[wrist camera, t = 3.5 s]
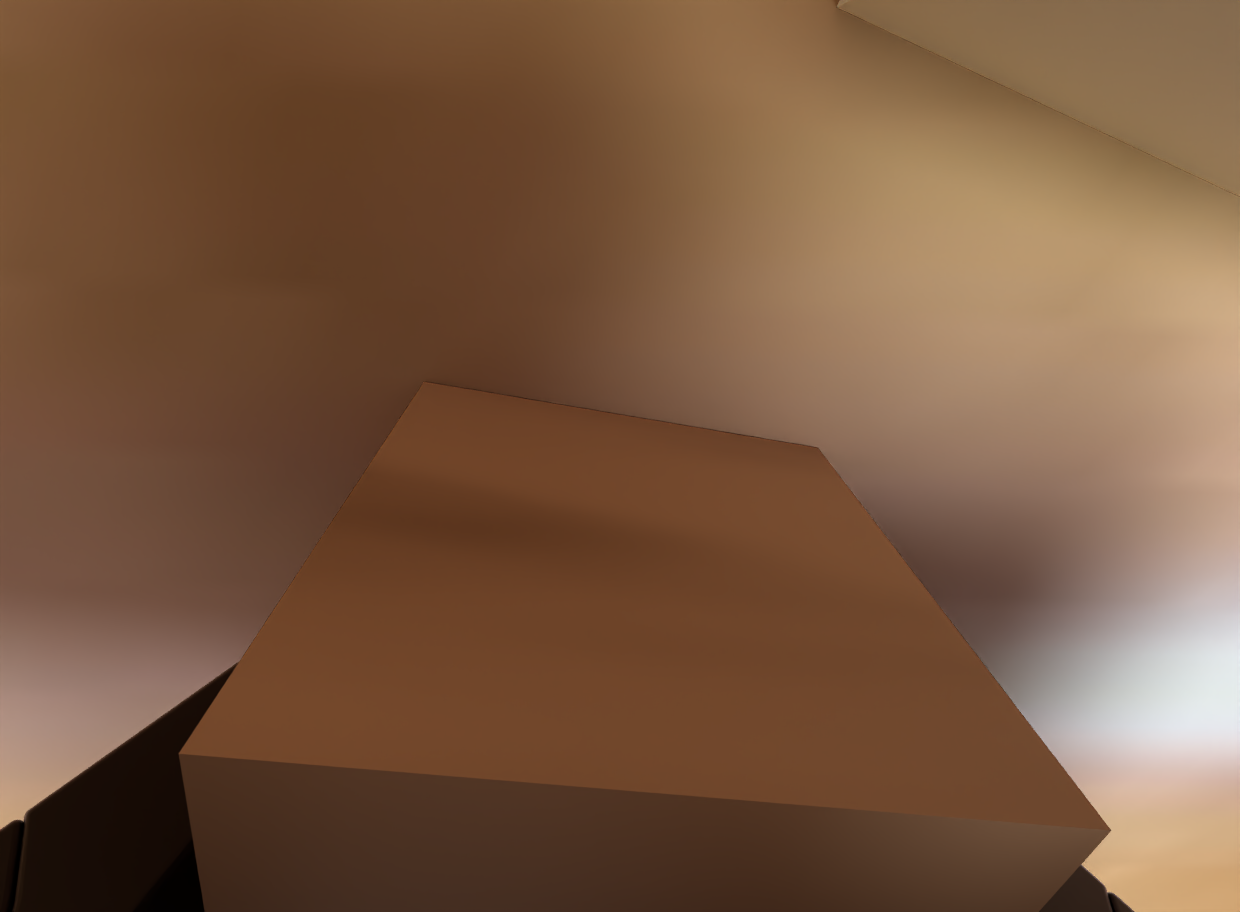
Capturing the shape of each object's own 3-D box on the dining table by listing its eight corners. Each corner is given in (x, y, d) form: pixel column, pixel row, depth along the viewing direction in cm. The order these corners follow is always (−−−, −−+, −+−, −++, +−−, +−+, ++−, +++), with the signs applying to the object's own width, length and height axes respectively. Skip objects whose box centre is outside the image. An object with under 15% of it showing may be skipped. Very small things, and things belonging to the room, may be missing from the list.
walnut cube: (714, 715, 10) (816, 1161, 6) (404, 684, 10) (245, 1161, 5) (817, 448, 8) (1109, 829, 4) (424, 381, 7) (178, 754, 3)
